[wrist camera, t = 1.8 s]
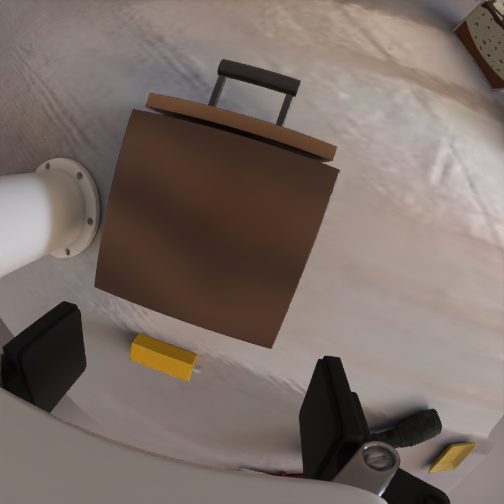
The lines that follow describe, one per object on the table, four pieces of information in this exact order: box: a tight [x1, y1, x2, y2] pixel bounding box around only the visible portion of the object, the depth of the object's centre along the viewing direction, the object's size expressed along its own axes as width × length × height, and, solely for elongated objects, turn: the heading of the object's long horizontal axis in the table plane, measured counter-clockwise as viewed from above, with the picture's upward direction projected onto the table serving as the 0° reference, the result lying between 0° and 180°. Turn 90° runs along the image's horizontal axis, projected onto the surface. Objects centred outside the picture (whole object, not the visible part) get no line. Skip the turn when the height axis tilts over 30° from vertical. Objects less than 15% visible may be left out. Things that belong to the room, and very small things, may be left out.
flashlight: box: [371, 409, 442, 449], centre depth 38 cm, size 5×21×5 cm, turn 108°
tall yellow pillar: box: [130, 333, 201, 381], centre depth 36 cm, size 9×3×2 cm, turn 72°
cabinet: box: [95, 109, 340, 349], centre depth 28 cm, size 16×17×10 cm
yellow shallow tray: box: [429, 442, 478, 473], centre depth 41 cm, size 9×9×2 cm
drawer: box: [146, 59, 337, 162], centre depth 27 cm, size 20×15×8 cm
